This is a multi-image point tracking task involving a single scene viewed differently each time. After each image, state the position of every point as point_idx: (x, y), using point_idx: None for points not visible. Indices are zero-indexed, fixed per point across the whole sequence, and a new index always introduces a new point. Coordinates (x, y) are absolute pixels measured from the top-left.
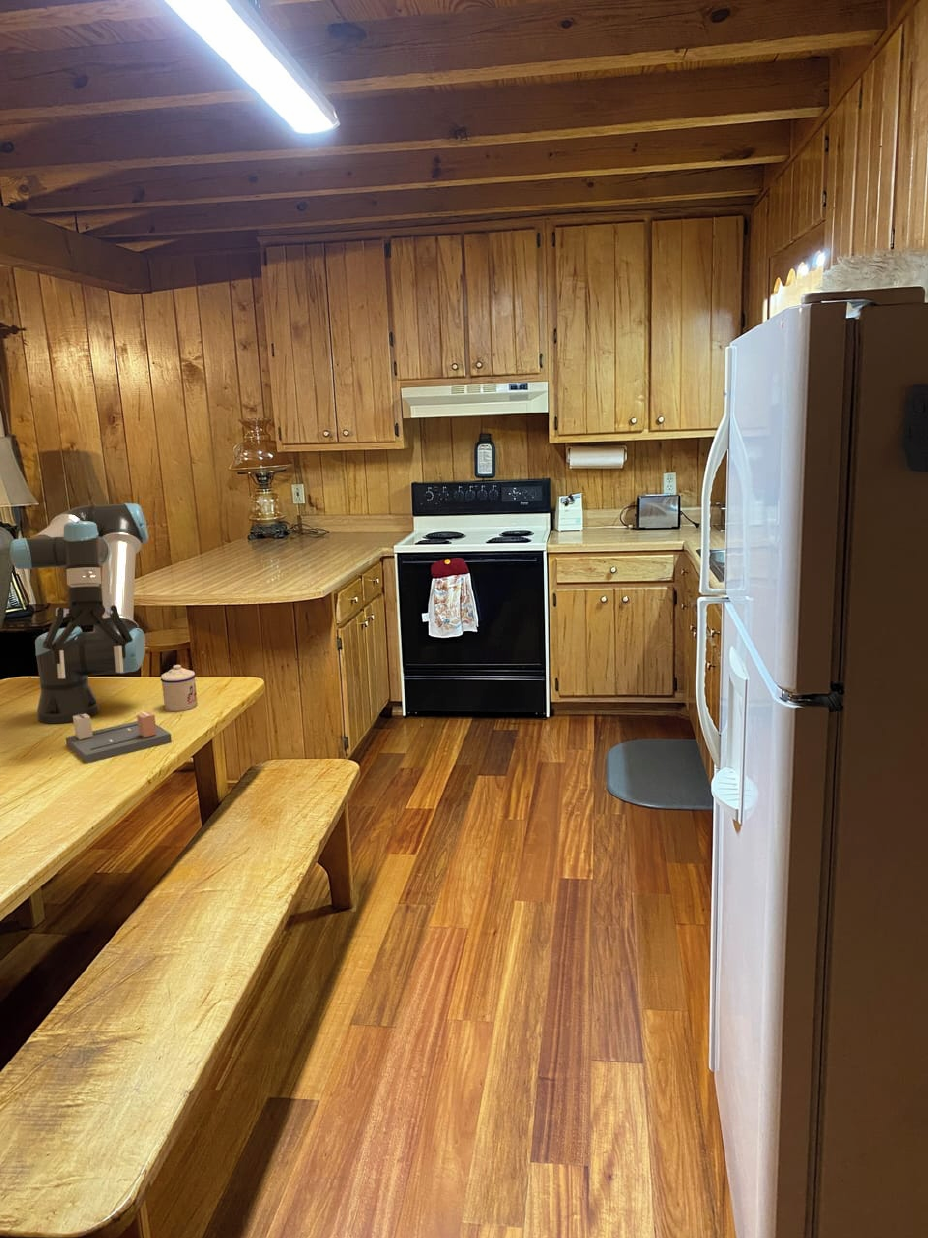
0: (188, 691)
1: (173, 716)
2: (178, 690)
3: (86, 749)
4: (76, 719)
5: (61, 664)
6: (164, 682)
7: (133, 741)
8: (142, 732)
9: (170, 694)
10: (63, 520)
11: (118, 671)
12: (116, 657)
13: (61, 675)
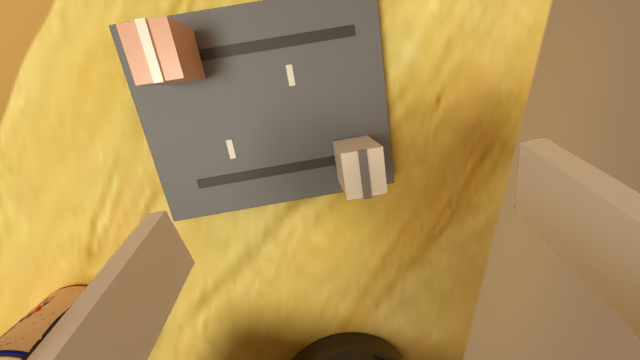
0: (19, 324)
1: (110, 254)
2: (44, 329)
3: (364, 38)
4: (383, 154)
5: (621, 188)
6: None
7: (229, 24)
8: (192, 42)
9: None
10: None
11: (174, 236)
12: (137, 328)
13: (557, 149)
